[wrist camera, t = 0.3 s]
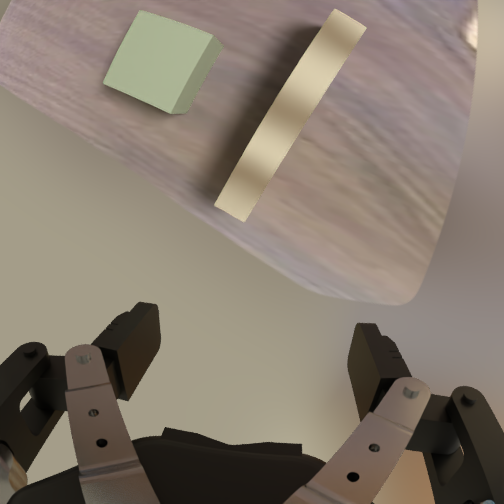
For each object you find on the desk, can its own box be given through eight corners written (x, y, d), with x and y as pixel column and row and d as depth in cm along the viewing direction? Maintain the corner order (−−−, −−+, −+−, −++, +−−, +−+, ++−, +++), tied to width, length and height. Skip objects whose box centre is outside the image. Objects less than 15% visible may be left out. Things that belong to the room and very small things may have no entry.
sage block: (159, 21, 25) (139, 9, 21) (224, 46, 26) (213, 35, 22) (126, 85, 29) (102, 83, 24) (187, 113, 30) (170, 113, 25)
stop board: (326, 26, 24) (334, 8, 19) (352, 42, 25) (366, 27, 19) (226, 189, 32) (213, 205, 27) (251, 203, 33) (244, 222, 27)
